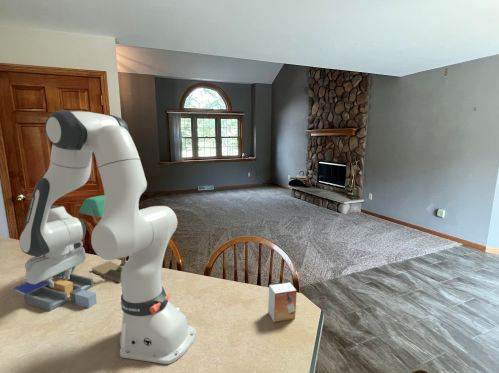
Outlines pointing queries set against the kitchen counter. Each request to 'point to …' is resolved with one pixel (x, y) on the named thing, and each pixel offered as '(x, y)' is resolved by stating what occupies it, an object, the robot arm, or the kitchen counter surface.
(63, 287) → the orange plug
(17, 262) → the kitchen counter surface
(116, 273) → the banker's lamp
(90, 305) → the slate-blue plug
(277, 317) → the small box
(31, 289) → the hard drive
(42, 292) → the grey compartment tray
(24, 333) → the kitchen counter surface
